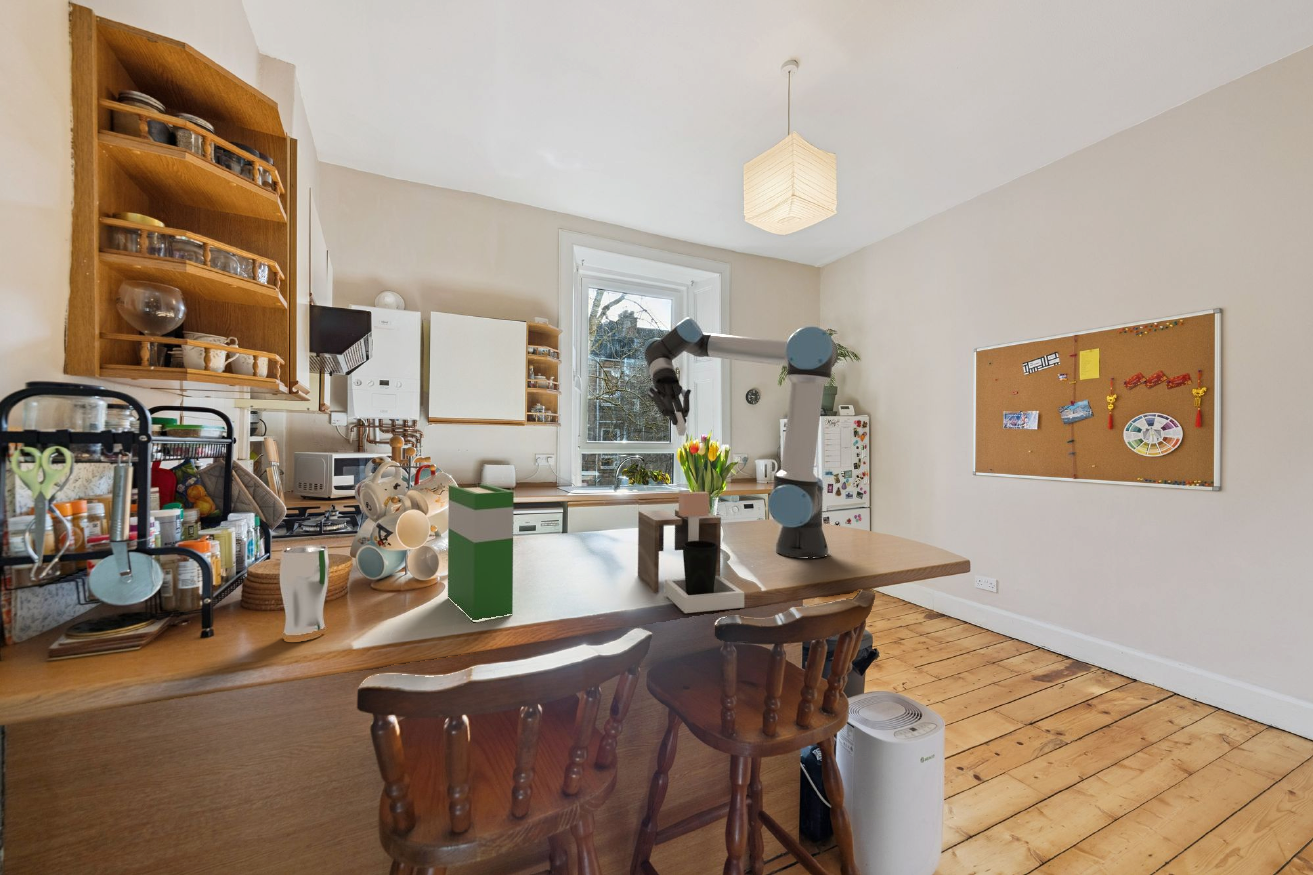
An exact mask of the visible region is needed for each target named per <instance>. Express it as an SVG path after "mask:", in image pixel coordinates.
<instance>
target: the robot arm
mask: <svg viewBox="0 0 1313 875" xmlns="http://www.w3.org/2000/svg"><path fill="white" fill-rule="evenodd" d="M684 352H685V353H687V354H690V355H693V357H698V358H704V357H709V358H715V359H717V358H718V359H722V360H723V359H724V360H732V361H733V360H734V361H742V362H750V363H759V364H766V365H776V366H783V367H786V368H787V369H786V378H787V379H788V380H789V382H790V393H789V401H788V410H787V419H786V427H785V435H784V444H783V451H782V459H781V468H780V470H778V471H777V472H775V474H774V479H773V480H774V481H773V488H772V491H771V493H770V494H769V496H768V501H767V508H768V512H769V514H770V516H771V518H772V519H773V520H774V521H775V522H776V523H777V524H780V525H781V528H780V532H779V534H778V536H777V540H776V543H775V552H776V553H777V554H778V553H780V554H782V555H781V556H784V555H787V556H786V557H788V556H791V557H790V558H793V557H808V558H813V557H823V556H825V555H828V556H829V545H828V543H827V539H826V538H825V533H824V530H823V501H824V500H823V493H824V492H823V491H824V486H823V480H822V479H821V478H820V477H817V476H816V475H815V473H814V469H815V463H816V462H815V461H816V455H817V454H816V453H817V452H816V451H817V446H818V445H817V443H818V438H819V428H820V422H821V412H822V403H823V396H824V395H823V394H824V387H825V385H827V383H828V382H830V381H831V379H832V378H831V376H832V372H833V371H832V370H833V367H834V366H835V365H836V363H837V360H838V357H839V350H838V345H837V344H836V343H835V341H834V340H833V338H832V336H831V335H830V333H829V332H827V331H826V330H825V329H822V328H820V327H818V326H812V325H811V326H804V327H801V328H799V329H797V330H796V331H795V332H793V333H792V334H791V335H790V336H789V337H788V340H783V339H774V338H773V339H772V338H761V337H751V336H741V335H731V334H730V335H729V334H719V333H711V332H710V333H709V332H703V331H702V328H701V327H700V326H699V325H698V323H697V322H696V321H695V320H694V319H693V318H691V317H686V318H684V319H682V320H681V321H680V322H678V323H677V325H675V326H674V327H673V328H672V329H670V331H668V332H667V333H666V334H665V335H664V336H662V337H661V338H659V337H654V338H651V339H648V340H647V341H646V342H645V344H644V346H643V354H644V355H643V356H644V360H645V361H646V365H647V367H648V371H649V374H650V378H651V381H652V383H653V387H650V388H649V389H648V390H649V391H648V393H647V396H648V397H649V398H650V399H652V402H654V404H655V406H656V407H657V409H658V410H659V412H660V413H661V415H662V416H663V417H665V418H666V417H668V420H669V421H671V424H672V425H673V426H675V427H676V431H677V435H678V436H679V437H680V436H685V435H686V434H685V433H686V431H687V426H686V423H687V422H688V421H687V417H688V416H689V413H690V410H691V408H690V407H691V406H690V395H691V393H692V390H691V389H689V388H688V389H687V390H685V389H683V386H682V385H681V384H680V380H679V378H678V375H677V371H676V368H675V367H674V364H673V360H675V359H676V358H678V357H679V356H680V355H681V354H682V353H684ZM680 395H681V396H682V398H683V400H682V402H681V398H680ZM780 554H779V555H780Z"/></svg>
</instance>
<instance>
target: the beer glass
mask: <svg viewBox="0 0 1313 875" xmlns="http://www.w3.org/2000/svg"><path fill="white" fill-rule="evenodd" d="M328 549H329V547H328V546H327V545H324V544H310V545H309V544H307V545H306V544H305V545H300V546H299V545H298V546H292V547H288V548H285V549H282V550H281V556H280V558H281V559H280V565H279V566H280V567H279V586H280V592H281V593H280V594H281V597H282V602H283V607H284V611H285V625H284V628H283V629H284V630H283V633H285V634H286V635H301V634H306V633H312V632H313V631H318V630H320V629H323V628H324V627H325V628H326V624H325V621H324V606H325V602H326V601H325V600H326V596H327V590H328V585H329V579H330V578H329V576H330V560H329V551H328Z"/></svg>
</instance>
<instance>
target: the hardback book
mask: <svg viewBox="0 0 1313 875" xmlns="http://www.w3.org/2000/svg"><path fill="white" fill-rule="evenodd" d="M514 495H515V494H514V491H513V490H508V489H505V488H502V487H497V486H493V485H489V484H486V483H480V484H479V487H463V488H462V487H460V486H457V485H448V512H447V513H448V517H447V518H448V520H447V521H448V525H447V529H448V533H447V534H448V537H447V540H448V542H447V546H448V547H447V549H448V550H447V598H448V597H449V598H450V599H451V600H452V601H453V602H454V603H455V604H457V606H459V607H460V608H461V609H462V610H463V611H464V612H465V613H466V614H467V615H468V616H469V617H470V618H472V620H479V619H482V618H491V617H496V616H504V615H507V614H512V615H514V614H513V612H514V611H513V606H514V604H513V597H514V596H513V595H514V593H513V590H514V502H515V501H514V500H515V499H514Z"/></svg>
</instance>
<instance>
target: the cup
mask: <svg viewBox="0 0 1313 875" xmlns="http://www.w3.org/2000/svg"><path fill="white" fill-rule="evenodd" d="M682 546H683V550H682V559H683V567H684V568H683V570H684V578H685V585H686V594H688V595H699V594H711V593H715V591H714V585H715V575H716V565H717V555H718V544H717V543H714V542H709V541H688V542H684V543H683V544H682Z"/></svg>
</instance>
